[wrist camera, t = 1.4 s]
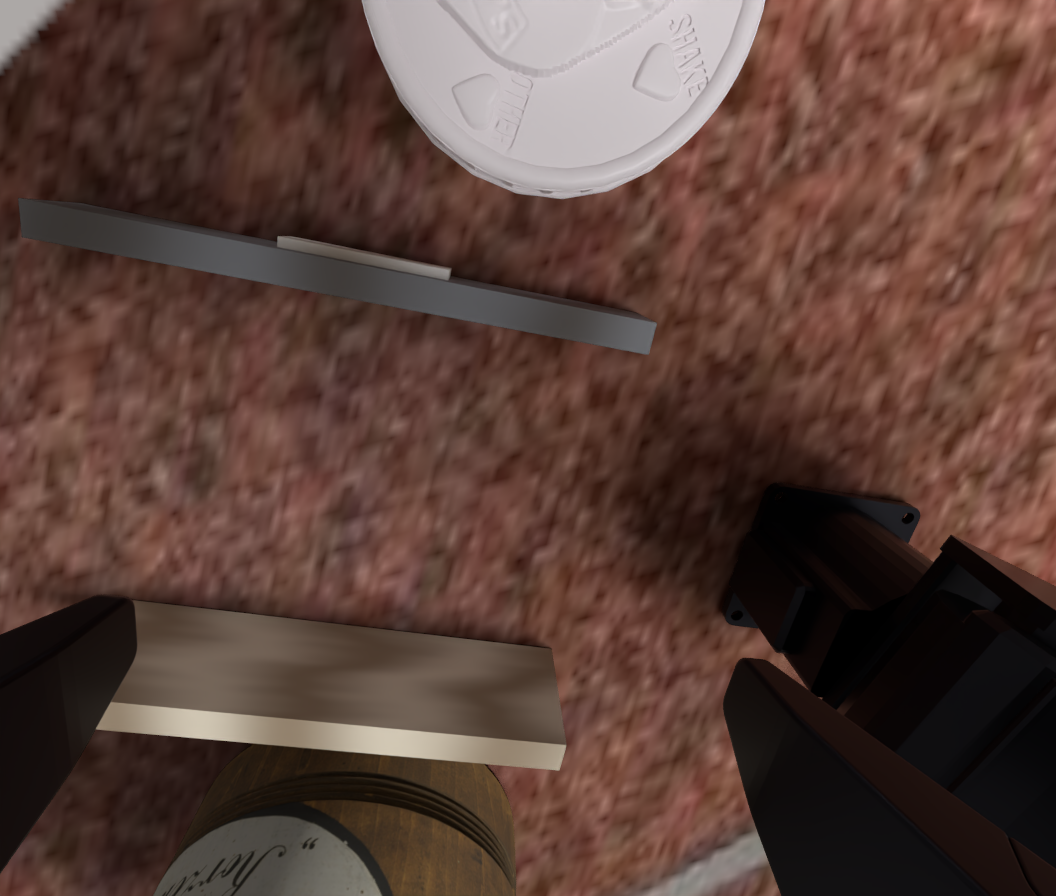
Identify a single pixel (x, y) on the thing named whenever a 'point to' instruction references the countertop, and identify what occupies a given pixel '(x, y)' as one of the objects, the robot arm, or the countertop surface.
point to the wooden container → (346, 828)
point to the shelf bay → (317, 647)
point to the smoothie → (561, 82)
